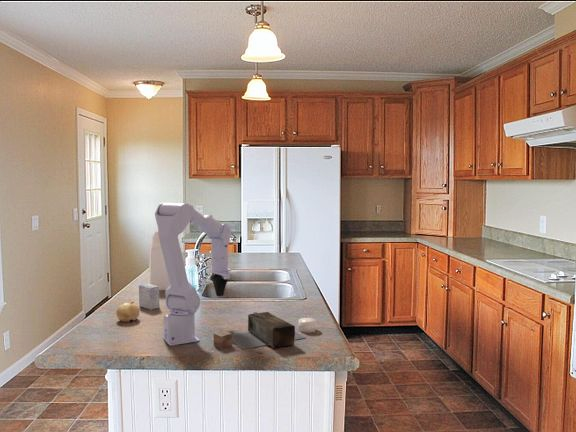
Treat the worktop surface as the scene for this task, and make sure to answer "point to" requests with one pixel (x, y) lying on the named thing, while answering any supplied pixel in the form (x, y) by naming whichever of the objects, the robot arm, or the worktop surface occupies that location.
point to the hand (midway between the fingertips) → (219, 295)
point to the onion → (127, 312)
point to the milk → (157, 265)
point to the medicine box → (149, 296)
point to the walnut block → (222, 339)
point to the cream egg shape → (307, 325)
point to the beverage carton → (271, 329)
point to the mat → (252, 340)
